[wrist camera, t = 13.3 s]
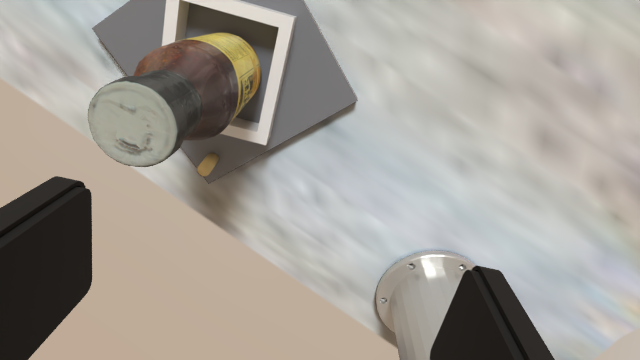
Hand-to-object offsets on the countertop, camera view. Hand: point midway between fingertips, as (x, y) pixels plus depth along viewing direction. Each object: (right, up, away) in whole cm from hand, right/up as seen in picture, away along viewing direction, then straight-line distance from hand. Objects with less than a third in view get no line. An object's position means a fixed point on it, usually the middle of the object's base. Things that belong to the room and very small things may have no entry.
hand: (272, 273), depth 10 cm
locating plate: (-7, +13, +27) cm, 31 cm away
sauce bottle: (-7, +13, +26) cm, 30 cm away
